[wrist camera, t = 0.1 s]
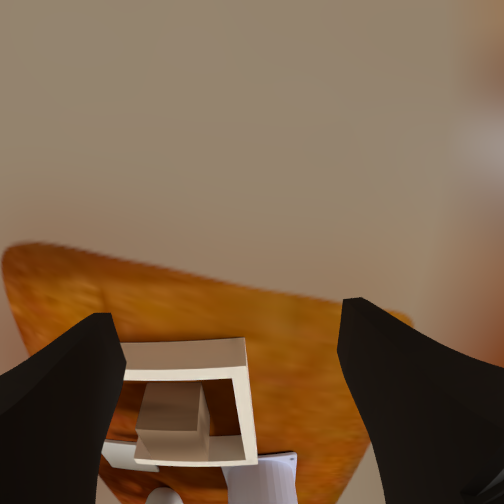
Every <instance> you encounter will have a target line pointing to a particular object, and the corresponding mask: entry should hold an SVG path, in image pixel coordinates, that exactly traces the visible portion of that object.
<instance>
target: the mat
mask: <svg viewBox="0 0 504 504" xmlns="http://www.w3.org/2000/svg"><path fill="white" fill-rule="evenodd" d="M136 445H137V442H126V441H116V440H108V439H105V441H104V445H103V449H102V454H103V456H104V457H105V458H106V459H107V461H108V462H109V463H110V465H111V466H112V467H115V468H122V469H130V470H140V471H151V472H159V468H158V467H157V465H149V464H138V463H136V461H135V460H134V454H135V449H136Z"/></svg>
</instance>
